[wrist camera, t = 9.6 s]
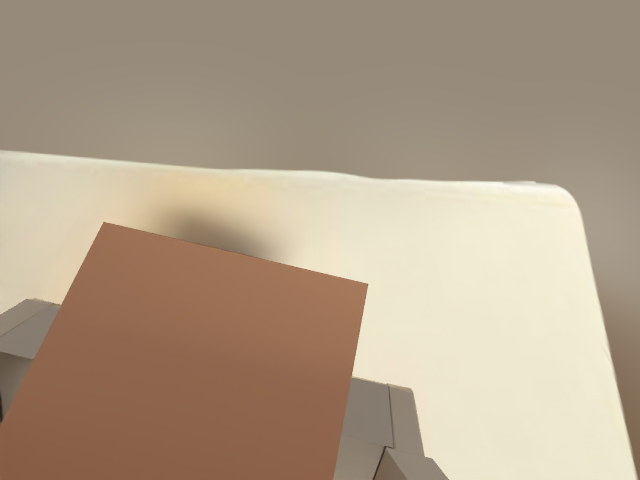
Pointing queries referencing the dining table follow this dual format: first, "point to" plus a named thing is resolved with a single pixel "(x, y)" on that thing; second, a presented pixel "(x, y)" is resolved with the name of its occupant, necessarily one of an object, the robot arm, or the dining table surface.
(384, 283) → the dining table surface
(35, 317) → the robot arm
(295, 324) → the terracotta block
